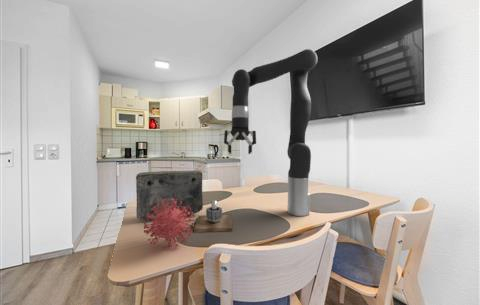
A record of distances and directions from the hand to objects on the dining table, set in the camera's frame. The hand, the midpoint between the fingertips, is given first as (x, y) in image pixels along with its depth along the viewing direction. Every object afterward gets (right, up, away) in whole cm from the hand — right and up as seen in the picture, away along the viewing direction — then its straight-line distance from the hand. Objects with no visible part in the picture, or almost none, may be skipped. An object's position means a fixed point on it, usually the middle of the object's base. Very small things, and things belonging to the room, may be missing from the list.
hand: (239, 153), depth 90 cm
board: (-10, -28, -9) cm, 31 cm away
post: (-10, -27, -9) cm, 30 cm away
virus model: (-22, -29, -27) cm, 45 cm away
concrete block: (-30, -28, -2) cm, 41 cm away
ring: (-10, -25, -9) cm, 29 cm away
